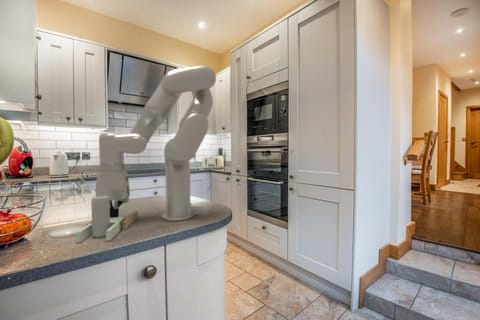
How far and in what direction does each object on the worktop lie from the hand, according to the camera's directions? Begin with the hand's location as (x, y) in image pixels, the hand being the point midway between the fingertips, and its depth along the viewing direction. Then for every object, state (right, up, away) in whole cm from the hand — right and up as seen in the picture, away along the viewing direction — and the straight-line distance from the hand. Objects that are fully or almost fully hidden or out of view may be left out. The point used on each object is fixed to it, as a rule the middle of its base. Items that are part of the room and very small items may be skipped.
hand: (113, 219), depth 82 cm
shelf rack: (0, -2, +1) cm, 3 cm away
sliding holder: (+1, -2, -8) cm, 9 cm away
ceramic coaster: (-11, -2, -7) cm, 13 cm away
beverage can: (+2, -3, -10) cm, 10 cm away
